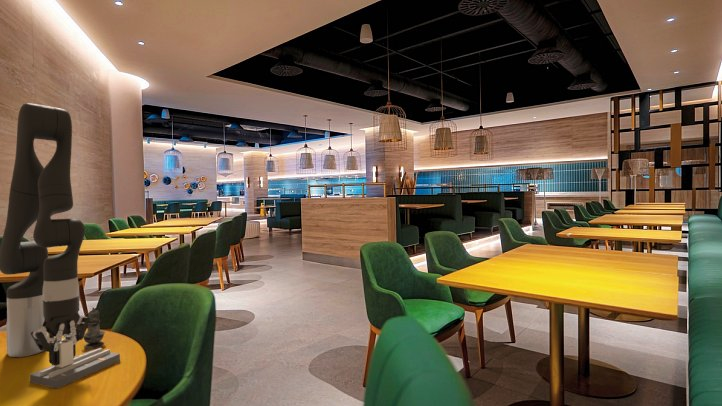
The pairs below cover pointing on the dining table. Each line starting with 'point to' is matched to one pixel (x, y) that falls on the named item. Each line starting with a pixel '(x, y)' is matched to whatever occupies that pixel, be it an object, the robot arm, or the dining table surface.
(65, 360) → the fader tab
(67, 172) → the robot arm
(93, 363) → the grey ridged rail base
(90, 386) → the dining table surface
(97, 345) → the dark grey statuette
